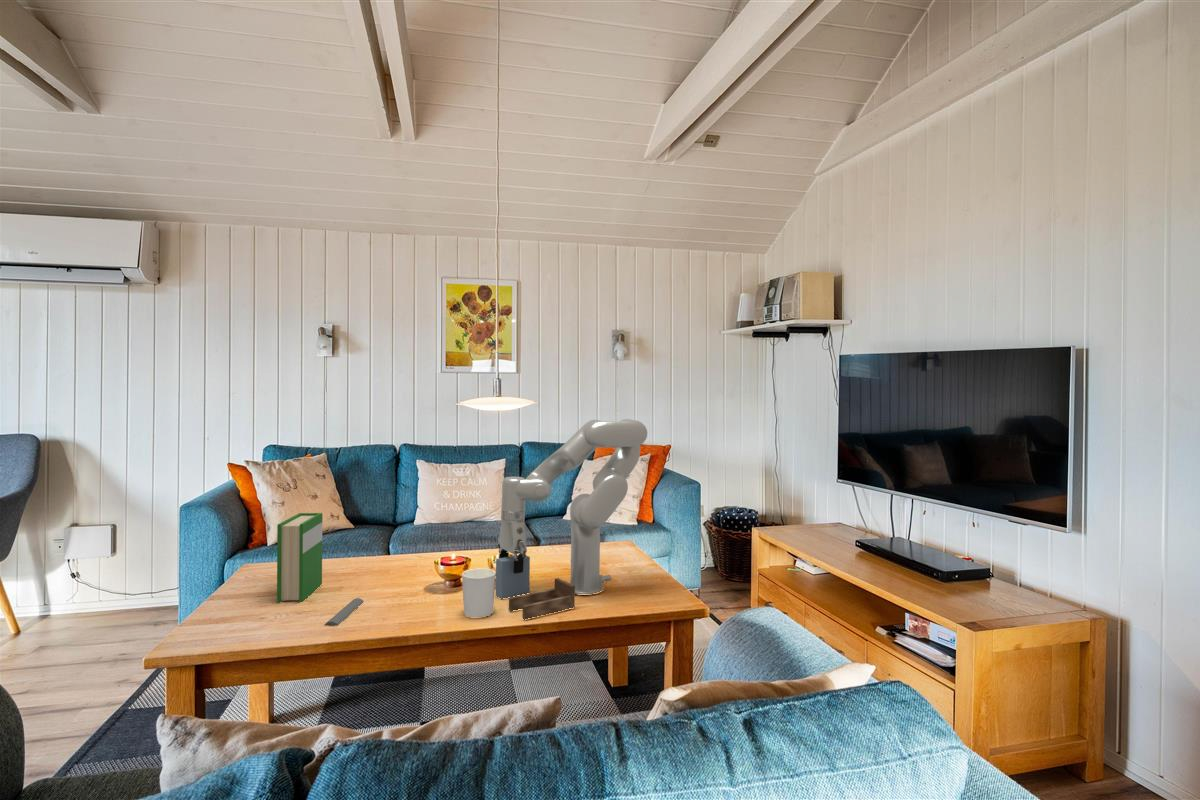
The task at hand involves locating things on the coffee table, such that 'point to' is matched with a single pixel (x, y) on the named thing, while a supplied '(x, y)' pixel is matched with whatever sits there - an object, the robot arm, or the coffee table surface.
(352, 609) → the gray half cylinder
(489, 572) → the grey cylinder
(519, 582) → the slate-blue book
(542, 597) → the book rack
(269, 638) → the coffee table surface
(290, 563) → the hardback book
